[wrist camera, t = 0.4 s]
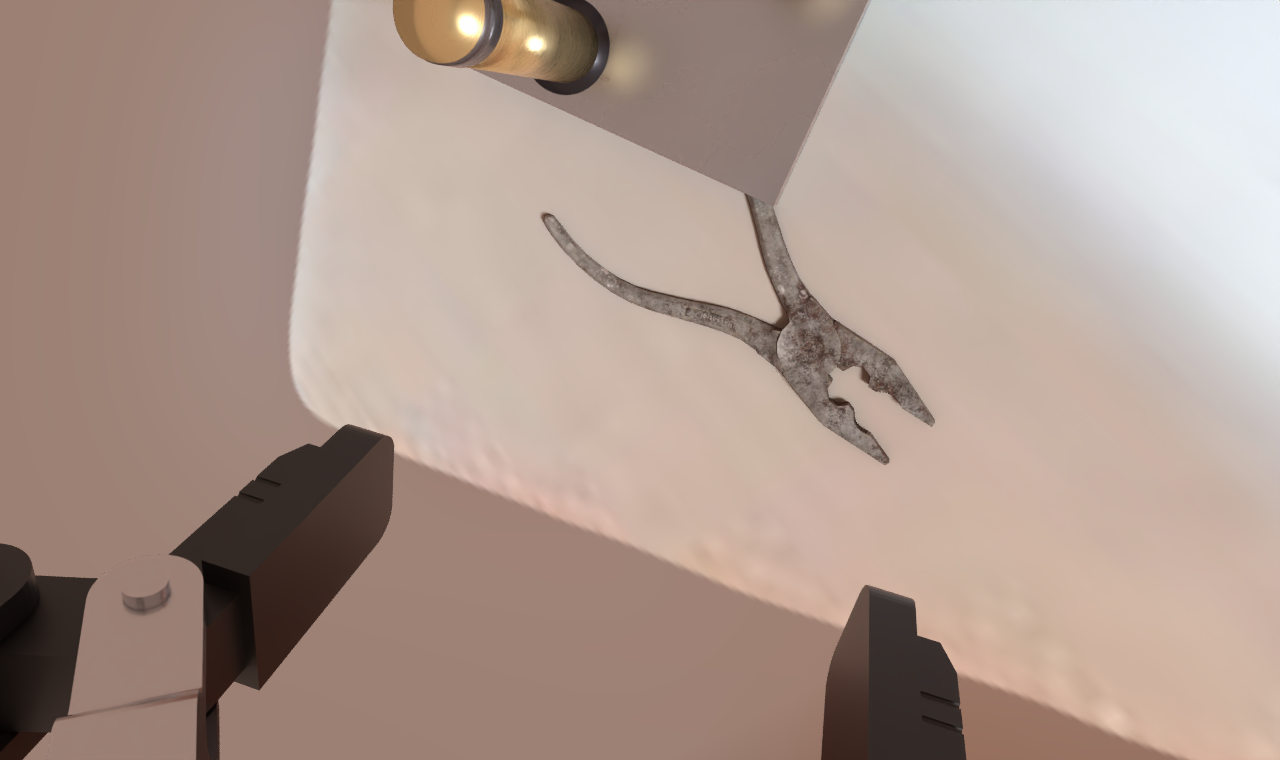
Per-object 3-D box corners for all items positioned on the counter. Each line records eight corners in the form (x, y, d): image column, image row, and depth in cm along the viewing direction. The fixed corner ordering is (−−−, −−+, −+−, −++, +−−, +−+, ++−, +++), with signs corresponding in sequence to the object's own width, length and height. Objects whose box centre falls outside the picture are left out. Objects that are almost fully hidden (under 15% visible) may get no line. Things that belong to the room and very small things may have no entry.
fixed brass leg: (545, -5, 35) (406, -61, 25) (610, 23, 35) (494, -23, 25) (522, 67, 36) (380, 41, 26) (584, 95, 36) (464, 79, 26)
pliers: (625, 48, 36) (1034, 296, 34) (630, 50, 37) (1031, 292, 35) (529, 241, 39) (894, 474, 38) (536, 239, 40) (894, 467, 38)
